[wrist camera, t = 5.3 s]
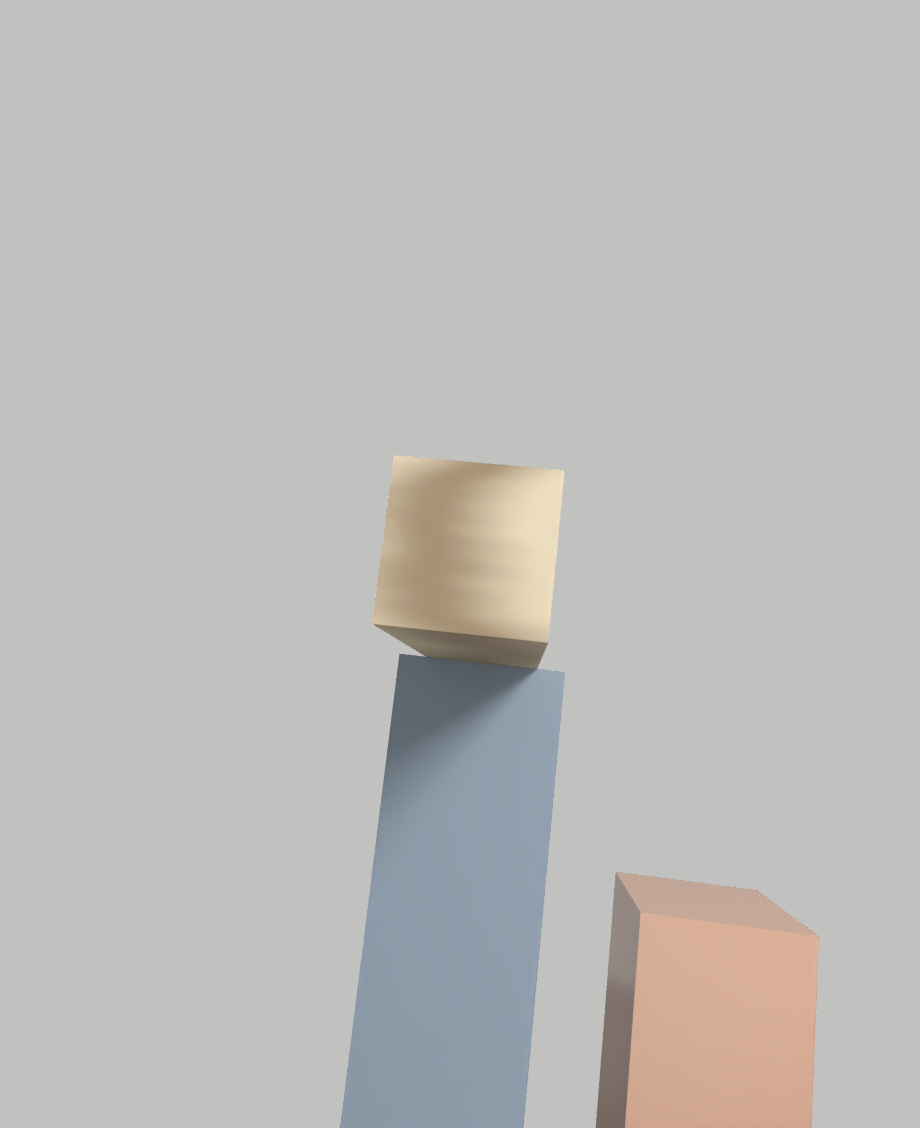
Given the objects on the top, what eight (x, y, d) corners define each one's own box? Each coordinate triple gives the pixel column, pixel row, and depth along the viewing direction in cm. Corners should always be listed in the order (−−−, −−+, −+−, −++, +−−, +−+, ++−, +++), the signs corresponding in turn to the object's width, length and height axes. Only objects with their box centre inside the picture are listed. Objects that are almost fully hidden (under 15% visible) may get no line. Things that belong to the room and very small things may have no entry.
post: (276, 1638, 25) (399, 653, 30) (365, 1298, 40) (438, 673, 45) (472, 1680, 25) (564, 672, 30) (489, 1321, 40) (549, 685, 45)
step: (604, 1410, 35) (640, 912, 39) (585, 1258, 45) (615, 871, 48) (799, 1446, 35) (818, 936, 38) (736, 1283, 44) (757, 890, 48)
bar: (372, 623, 19) (394, 455, 20) (457, 675, 46) (465, 603, 46) (548, 642, 19) (564, 470, 19) (530, 683, 45) (537, 610, 46)
